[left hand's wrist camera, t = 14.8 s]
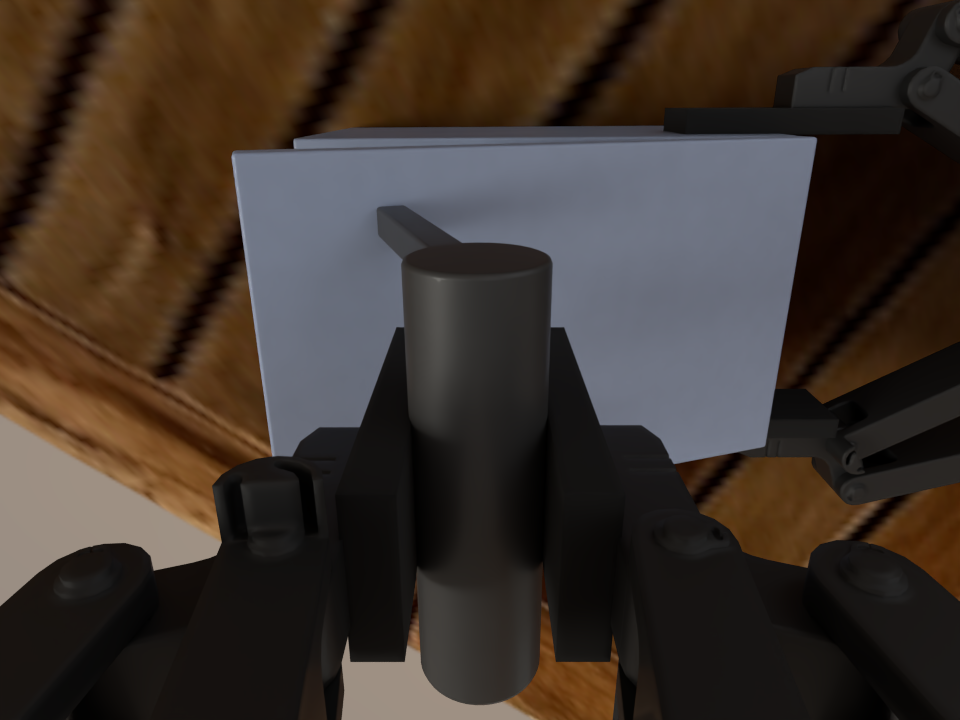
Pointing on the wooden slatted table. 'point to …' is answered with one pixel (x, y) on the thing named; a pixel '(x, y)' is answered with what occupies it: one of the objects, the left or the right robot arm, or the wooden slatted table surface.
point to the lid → (518, 331)
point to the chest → (491, 136)
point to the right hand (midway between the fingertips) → (659, 278)
